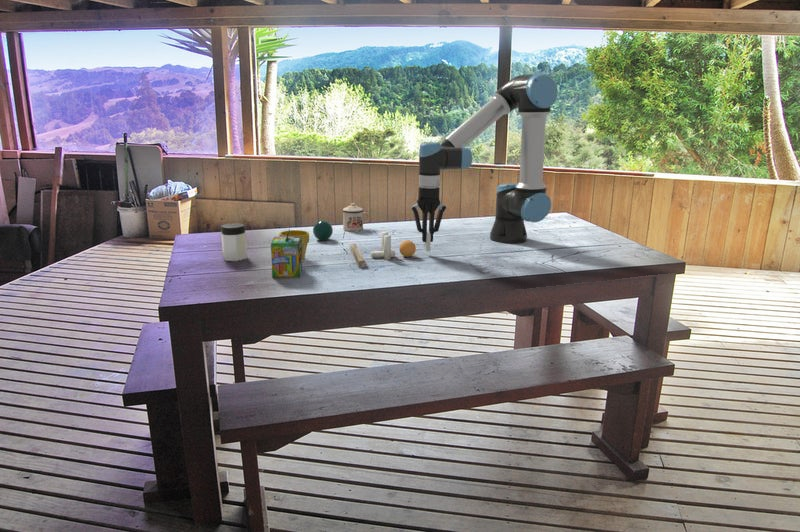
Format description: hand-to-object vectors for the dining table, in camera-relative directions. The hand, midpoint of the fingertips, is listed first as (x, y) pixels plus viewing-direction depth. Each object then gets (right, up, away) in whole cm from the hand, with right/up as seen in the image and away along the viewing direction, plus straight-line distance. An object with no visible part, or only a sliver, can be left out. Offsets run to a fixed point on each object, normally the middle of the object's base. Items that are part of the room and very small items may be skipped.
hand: (427, 250), depth 210 cm
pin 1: (-16, -2, 0) cm, 16 cm away
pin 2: (-15, -3, -5) cm, 16 cm away
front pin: (-12, -1, -2) cm, 12 cm away
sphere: (-41, +5, +22) cm, 47 cm away
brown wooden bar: (-26, -3, -5) cm, 26 cm away
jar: (-69, -3, -7) cm, 69 cm away
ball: (-7, +1, -2) cm, 8 cm away
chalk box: (-47, -9, -24) cm, 53 cm away
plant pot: (-47, -4, -7) cm, 48 cm away
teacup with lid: (-29, +10, +42) cm, 52 cm away
